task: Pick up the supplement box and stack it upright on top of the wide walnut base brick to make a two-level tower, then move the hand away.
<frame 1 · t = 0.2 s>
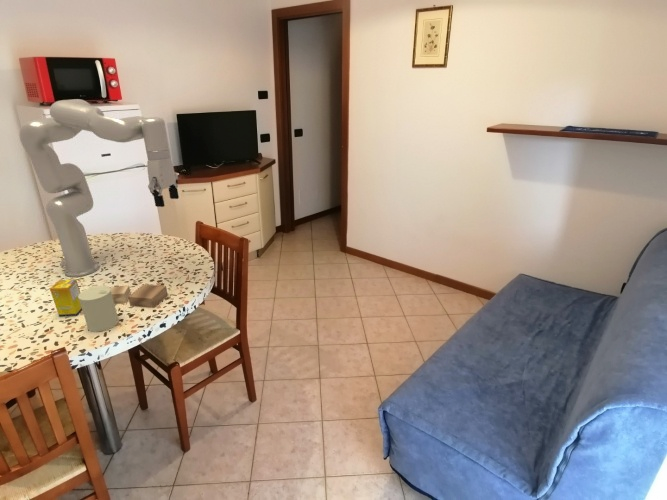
hand: (167, 202, 148), 31 cm above the table, tool pointing down, fingers open, 9 cm apart
supplement box: (72, 312, 139), on the table
oak brick: (120, 299, 146), on the table
can: (103, 324, 132), on the table
base brick: (149, 301, 146), on the table
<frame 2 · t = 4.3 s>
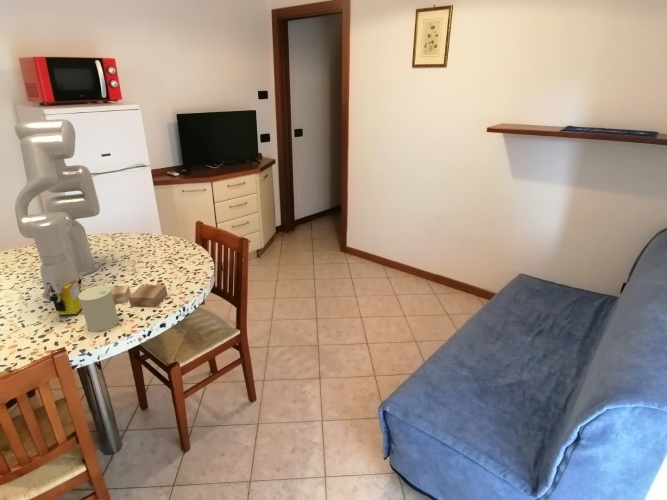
hand: (69, 304, 138), 3 cm above the table, tool pointing down, fingers closed on supplement box, 6 cm apart
supplement box: (72, 312, 139), on the table, touching gripper
everything else where it was.
when the fingers open (8 cm above the table, at t = 10.2 s): supplement box drops 2 cm, resting on base brick.
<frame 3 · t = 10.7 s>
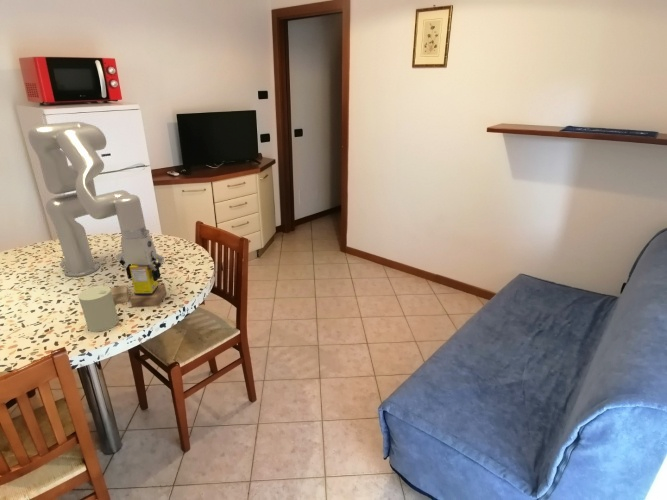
hand: (144, 278, 142), 9 cm above the table, tool pointing down, fingers open, 9 cm apart
supplement box: (147, 291, 144), point 3 cm above the table, touching base brick
base brick: (150, 301, 146), on the table, touching supplement box
everything else where it was.
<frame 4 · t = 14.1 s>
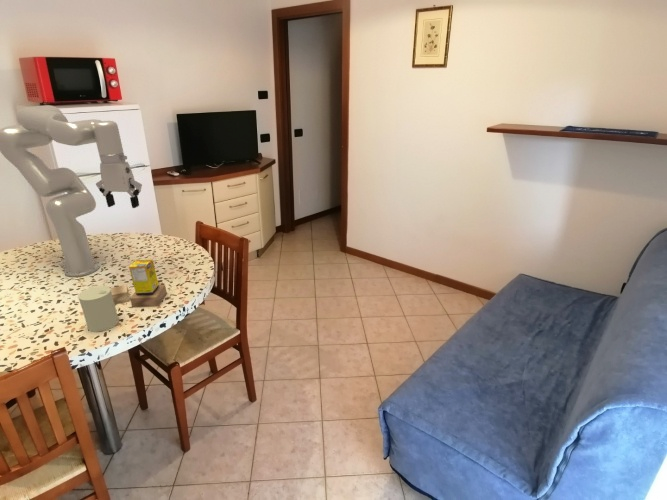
hand: (123, 206, 147), 30 cm above the table, tool pointing down, fingers open, 9 cm apart
nothing on the table moved.
at the end: supplement box 0.3 cm off-centre on the base brick, point 3.9 cm above the base brick's base; supplement box tilted 1°; the gripper is holding nothing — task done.
